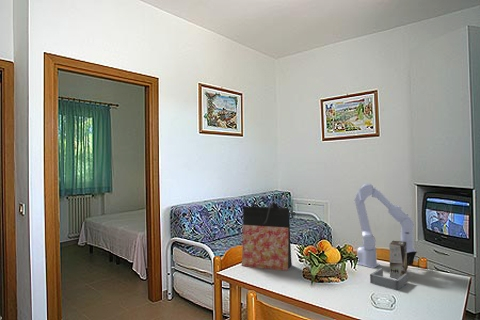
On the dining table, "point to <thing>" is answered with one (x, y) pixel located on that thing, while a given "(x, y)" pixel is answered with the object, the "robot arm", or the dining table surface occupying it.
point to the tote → (387, 280)
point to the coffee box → (398, 259)
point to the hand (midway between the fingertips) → (407, 266)
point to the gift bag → (266, 237)
